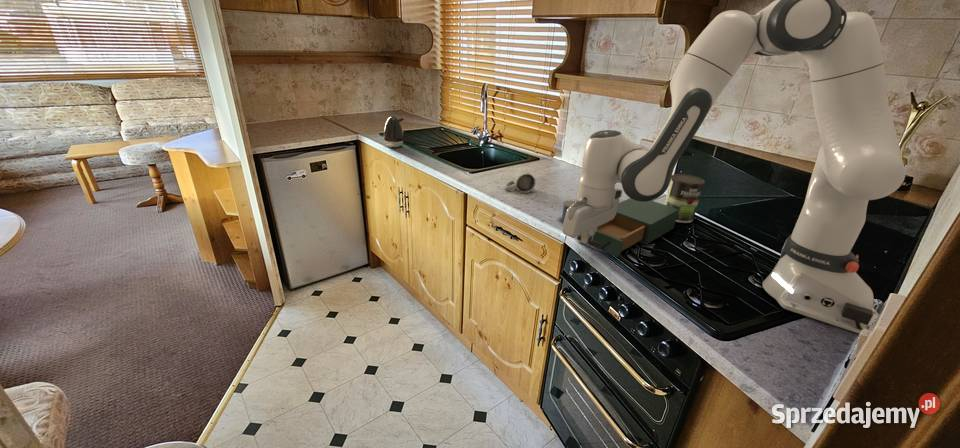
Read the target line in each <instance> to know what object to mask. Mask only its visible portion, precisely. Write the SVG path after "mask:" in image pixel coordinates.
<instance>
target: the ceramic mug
mask: <svg viewBox="0 0 960 448" xmlns="http://www.w3.org/2000/svg"><path fill="white" fill-rule="evenodd" d="M535 186H536V178H535V176H534V175H533V174H532V173H530V172H529V171H527V170H525V169H519V170H516V171H515V172H514V174H513V176H512V180H511V181H508V182H507V183H506V184H505V189H506V191H514V190H517V191H518V192H520V193H522V194H527V193H530V192H531V191H533V190H534V188H535Z"/></svg>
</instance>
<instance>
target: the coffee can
mask: <svg viewBox="0 0 960 448" xmlns="http://www.w3.org/2000/svg"><path fill="white" fill-rule="evenodd" d="M705 183H706V181H705V179H703V178H701V177H699V176H695V175H693V174H687V173H676V174H672V177H671V181H670V184H669V186H668V188H667V193H666V197H665V200H664V203H663V204H664V205H667V206H670V207H673V208H676V209H679V210H678V214H677V217H676V221H675V223H681V224H689V223H693V221H694V218H695V215H696V212H697V208H698V205H699V202H700V198H701V197H702V196H701V195H702V193H703V188H704V185H705Z"/></svg>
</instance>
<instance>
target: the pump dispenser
mask: <svg viewBox="0 0 960 448" xmlns="http://www.w3.org/2000/svg"><path fill="white" fill-rule="evenodd" d="M404 120H405V119H404V117H402V118H398V117H397V116H394V115H393V116H389V117H388V118H387V120H386V122H385V125H384V130H383V141H384V143H385V145H386V146H387V147H389V148H394V149H395V148H399V147H401V146H402V145H403V143H404V141H405V136H404V130H403V126H402V124H401V122H403V121H404Z"/></svg>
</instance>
